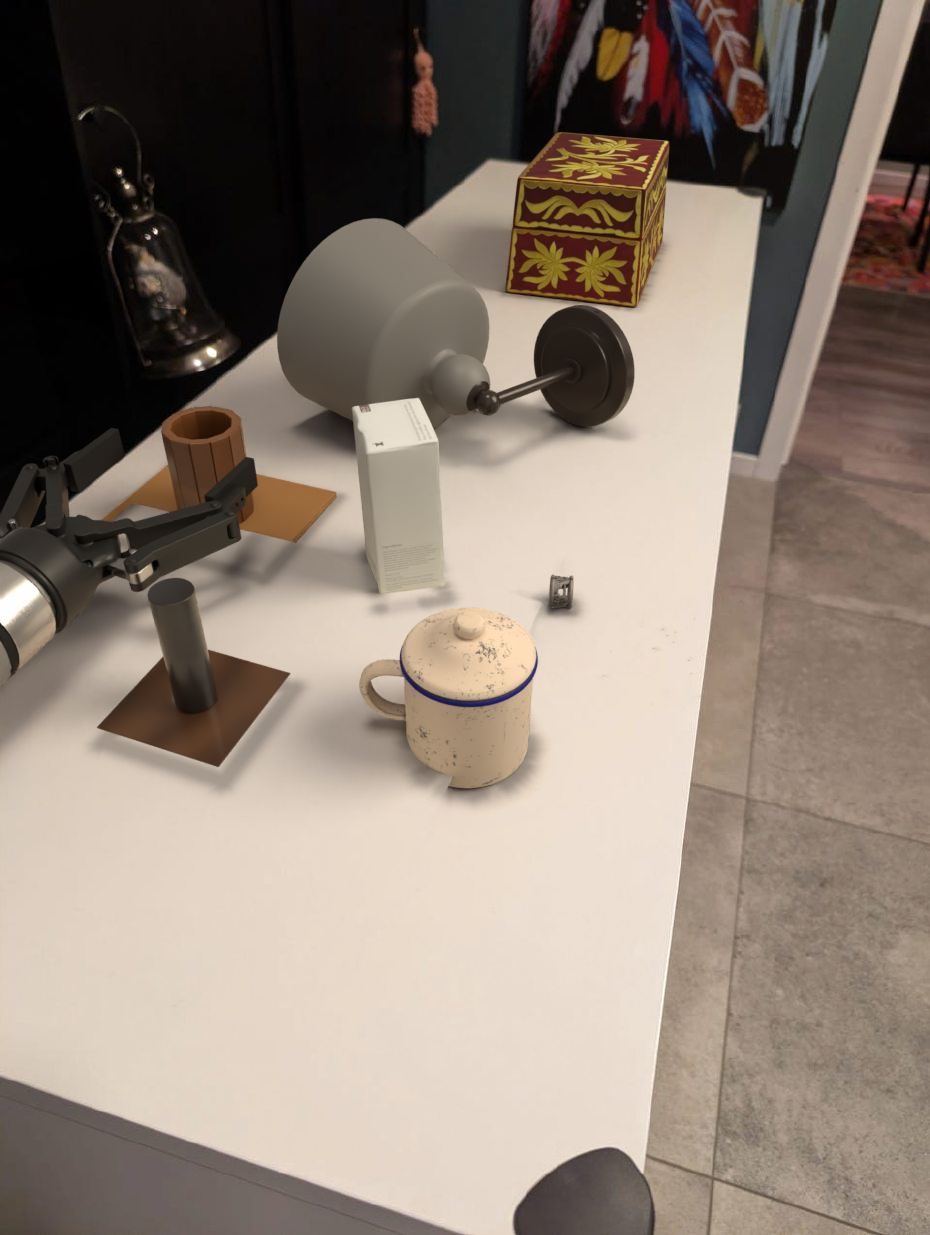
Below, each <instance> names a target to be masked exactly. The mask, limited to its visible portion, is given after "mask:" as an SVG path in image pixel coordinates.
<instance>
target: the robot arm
mask: <svg viewBox="0 0 930 1235" xmlns="http://www.w3.org/2000/svg"><path fill="white" fill-rule="evenodd" d="M119 430H120V429H118V428H114V427H111V428H109V429H107V430H106V431H105V432H104V433H102V434H101V435H99V436H98V437H97V438H95V439H94V440H93V441H91V442H90V443H89V444H87V445H86V446H84V447H83V448H81V449H80V450H77V451H74V452H73V453H71V454H70V455H69V456H68V457H66V458H65V459H63V460H62V461H61V462H60V460H59V457H58V456H56V455H48V456H46V457H44V458H43V459H42V463H43V466H44V468H39V466H38V464H36V463H27V464H25V465H24V466H23V467H22V468H21V470H20V471H19V474H18V476H17V478H16V480H15V483H14V485H13V487H12V488H11V491H10V493H9V495H8V497H7V499H6V501H5V504H4V506H3V508H2V510H1V511H0V687H2V686H3V685H4V684H5V683H6V682H7V681H8V680H9V679H10V678H12V677H13V676H14V675H15V674H16V672H18V671H19V670H20V669H21V668H23V666H24V665H25V664H27V663H28V662H29V661H30V660H31V659H32V658H33V657H34V656H36V654H37V653H39V651H40V650H42V649H43V648H44V647H45V646H46V645H47V644H48V643H49V642H51V640H53V638H54V636H55V634H58V633H61V632H62V631H63V630H64V629H65V628H66V627H67V626H69V624H71V622H73V621H74V620H75V619H76V618H77V617H78V616H79V615H80V614H81V613H82V612H83V611H84V610H86V609H87V607H88V606H89V605H90V603H91V601H92V599H93V597H94V594H95V593H96V590H97V588H98V587H99V585H101V584H102V583H104V582H107V581H108V580H111V579H113V578H119V579H122V580H124V581H127V582H128V585H129V589H130V591H131V592H132V593H133V592H134V593H140V592H144V591H145V590H146V589H147V588H149V587H150V586H151V585H153V584H155V582H156V581H157V580H159V579H160V578H162V577H164V576H167V575H168V574H170V573H173V572H175V571H178V570H179V569H182V568H184V567H187V566H188V565H190V564H192V563H195V562H197V561H199V560H201V559H204V558H207V557H208V556H210V555H213V554H215V553H216V552H219V551H221V550H223V549H225V548H228V547H230V546H232V545H234V544H236V543H239V542H240V541H241V540H242V532H241V531H242V530H241V529H240V526H239V520H238V514H237V513H238V512H239V511H240V510H241V509H242V508H243V507H244V506H245V505H246V497H247V496H248V495H249V494H250V493H251V492H252V491H253V490H254V489H255V488H256V487H257V486H258V482H257V476H256V474H257V470H256V469H257V468H256V464H255V463H256V462H255V458H254V457H250V456H247V457H245V458H244V459H243V460H242V461H241V462H240V463H239V464H238V465H237V466H235V467H234V468H233V469H232V470H231V471H230V472H229V473H228V474H227V475H226V476H225V477H224V478H222V479H221V480H220V481H219V482H218V483H217V484H216V485H215V486H214V487H213V488H212V489H211V490H209V491H208V492H207V493H206V494H205V495H204V498H205V503H202V504H198V505H195V506H191V507H187V508H184V509H180V510H176V511H172V512H166V513H161V514H158V515H154V516H150V517H147V518H143V519H139V520H135V521H134V520H132V519H131V518H130V517H129V518H128V517H125V518H121V519H117V520H112V521H111V522H108V521H103V520H102V519H93V518H91V517H89V516H87V515H82V514H77V515H76V516H70V515H71V514H70V502H69V491H68V487H69V488H70V491H71V492H75V493H80V492H82V490H84V489H85V488H86V487H88V486H89V485H90V484H92V483H93V482H94V481H96V480H97V479H98V478H99V477H100V476H102V475H104V473H105V472H107V471H108V470H110V469H111V468H112V467H114V466H115V465H116V464H117V463H118V462H120V461H121V460H123V459H124V458H125V457H126V455H125V450H124V447H123V443H122V439H121V438H122V437H121V435H120V431H119ZM44 496H46V504H45V508H44V509H45V520H44V522H45V523H43V524H40V525H36V526H33V527H31V526H32V524H33V521H34V519H35V517H36V515H37V512H38V509H39V507H40V506H41V505H40V504H41V503H42V501H43V498H44ZM207 516H208V518H207ZM120 535H124V536H125V538H126V541H127V546H128V548H127V550H125V551H122V542H121V540H120Z"/></svg>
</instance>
